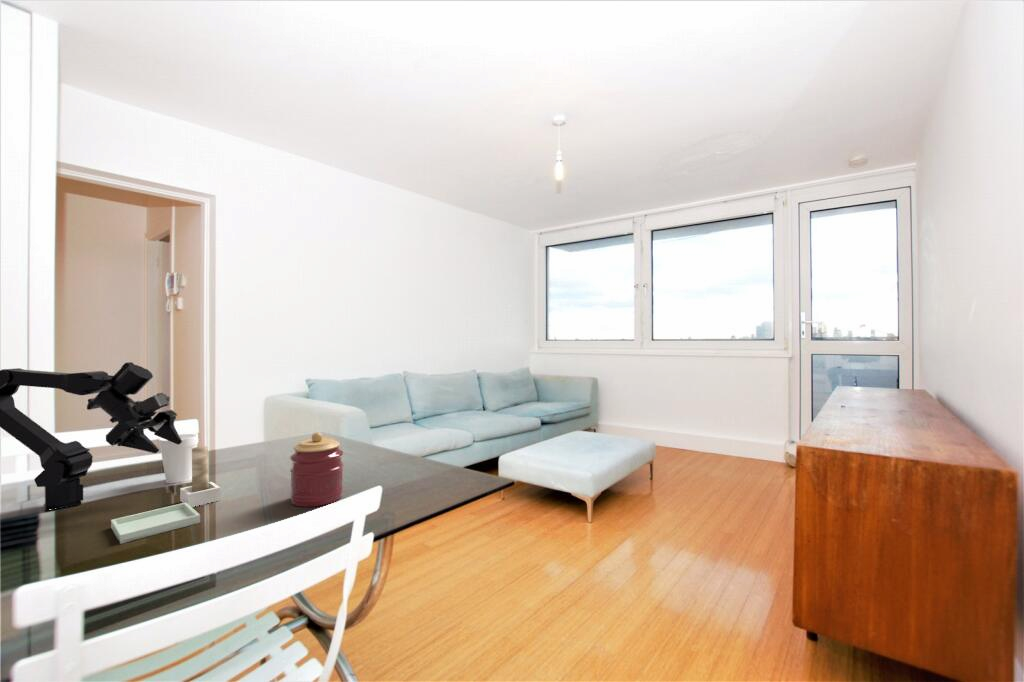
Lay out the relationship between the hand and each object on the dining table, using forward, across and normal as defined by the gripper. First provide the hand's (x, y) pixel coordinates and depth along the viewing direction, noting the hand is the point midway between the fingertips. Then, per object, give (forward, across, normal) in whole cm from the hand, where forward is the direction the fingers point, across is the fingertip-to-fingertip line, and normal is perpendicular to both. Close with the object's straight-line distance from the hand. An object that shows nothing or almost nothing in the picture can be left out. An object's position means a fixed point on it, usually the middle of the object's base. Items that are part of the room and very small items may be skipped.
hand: (169, 447), depth 117 cm
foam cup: (+4, +18, +16) cm, 25 cm away
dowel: (+16, -1, +5) cm, 16 cm away
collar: (+16, -1, +5) cm, 16 cm away
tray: (+14, -16, +6) cm, 22 cm away
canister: (+38, -3, -15) cm, 41 cm away
